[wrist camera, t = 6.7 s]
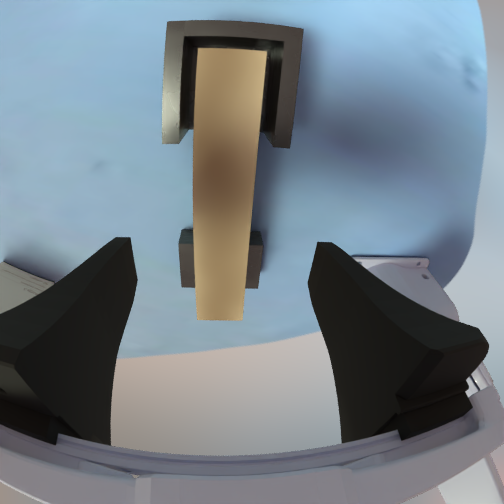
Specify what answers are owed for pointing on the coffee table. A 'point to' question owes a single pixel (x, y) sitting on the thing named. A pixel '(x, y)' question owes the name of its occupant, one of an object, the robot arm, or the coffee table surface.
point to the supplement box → (18, 286)
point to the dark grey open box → (231, 37)
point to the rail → (224, 175)
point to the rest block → (188, 259)
